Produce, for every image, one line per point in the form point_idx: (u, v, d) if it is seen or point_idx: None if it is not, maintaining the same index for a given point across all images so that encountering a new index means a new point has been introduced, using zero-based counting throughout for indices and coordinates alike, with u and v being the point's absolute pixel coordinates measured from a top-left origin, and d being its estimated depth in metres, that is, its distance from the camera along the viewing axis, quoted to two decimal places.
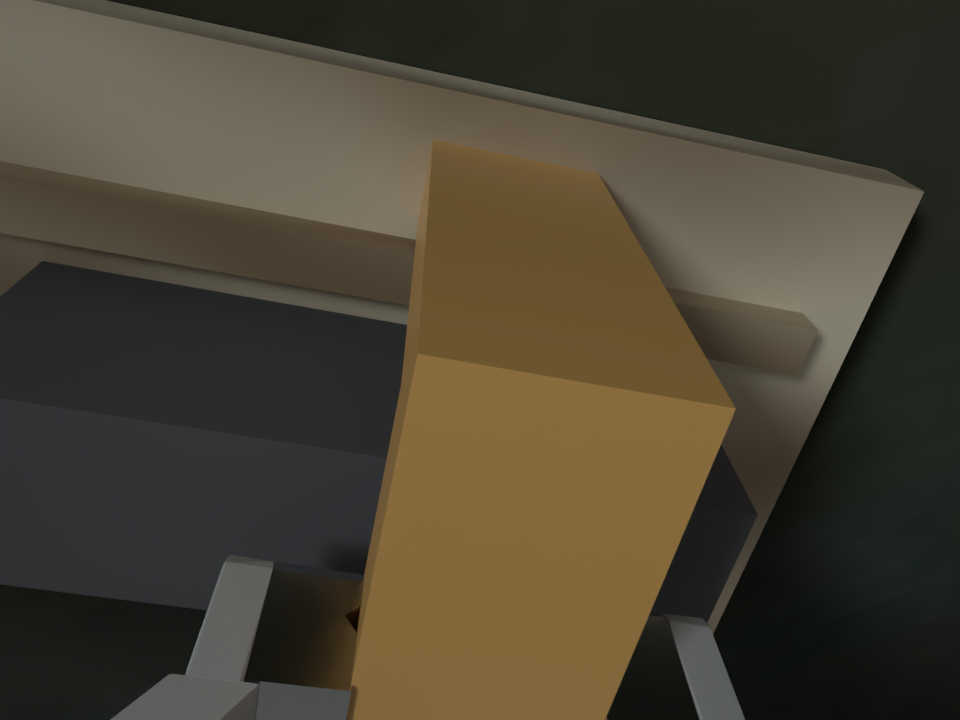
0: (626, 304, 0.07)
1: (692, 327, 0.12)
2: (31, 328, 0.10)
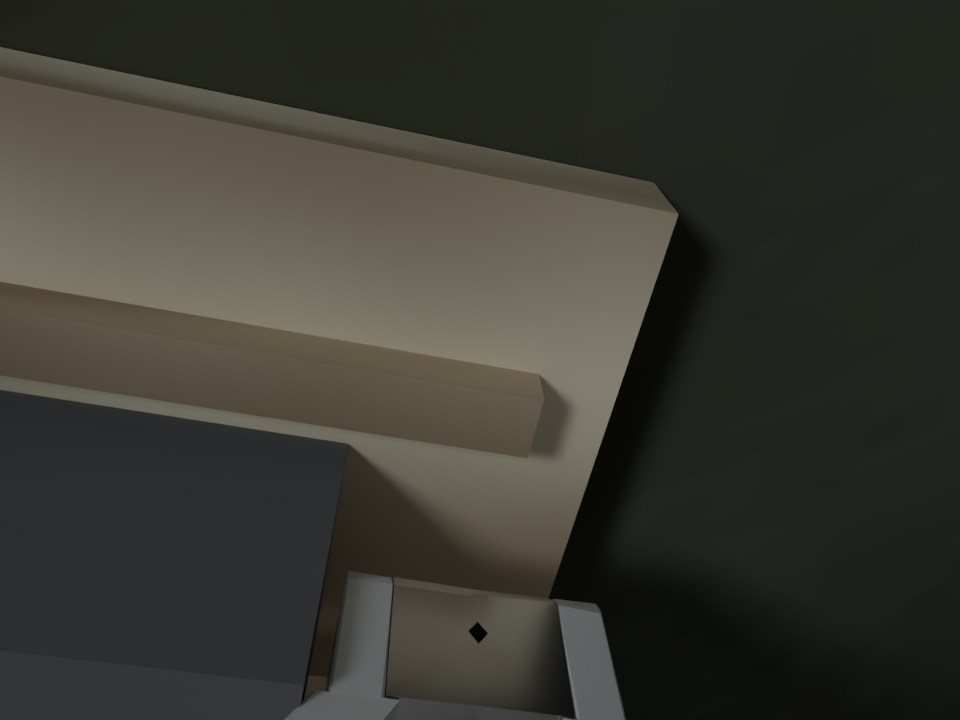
0: None
1: (371, 397, 0.09)
2: None
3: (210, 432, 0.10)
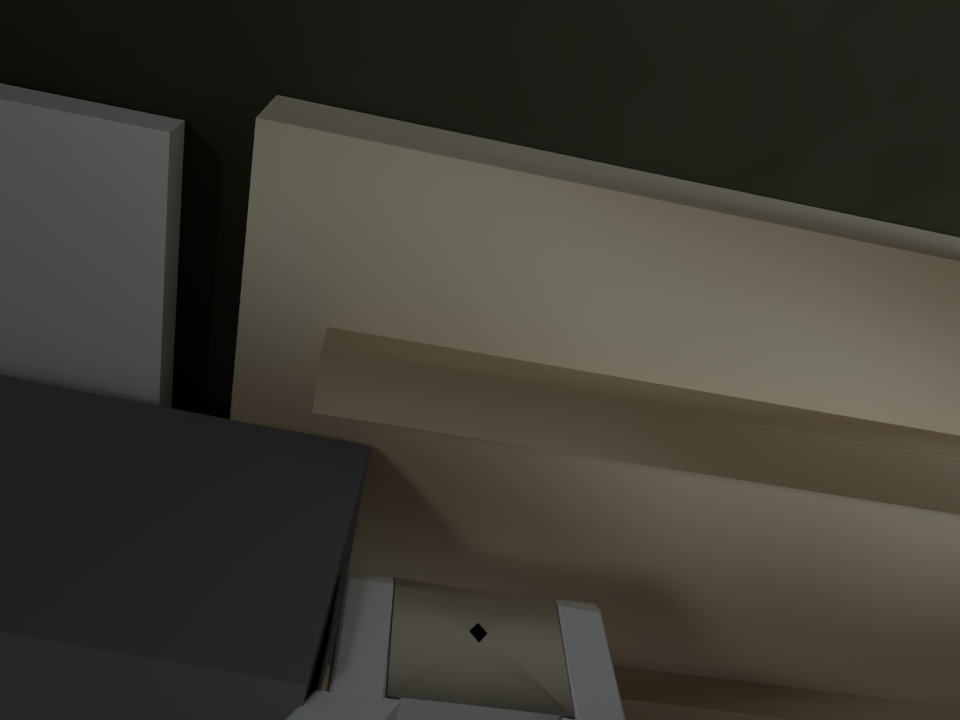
0: None
1: None
2: None
3: (234, 430, 0.10)
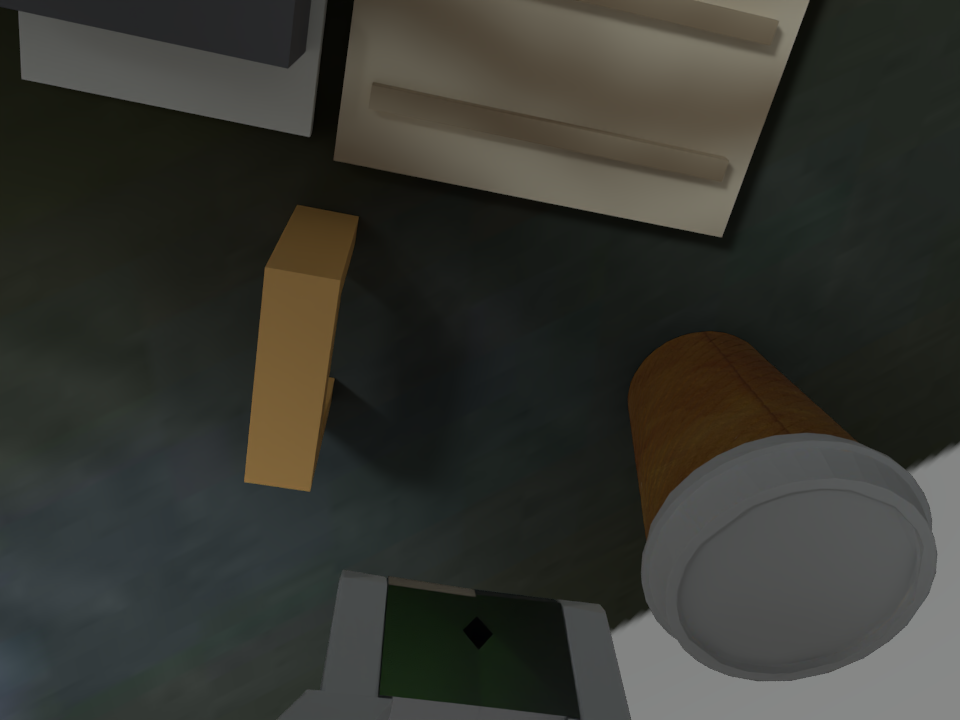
0: (330, 258, 0.28)
1: (722, 18, 0.27)
2: None
3: None
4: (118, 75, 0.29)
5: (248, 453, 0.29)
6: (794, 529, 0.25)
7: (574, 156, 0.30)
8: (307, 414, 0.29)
